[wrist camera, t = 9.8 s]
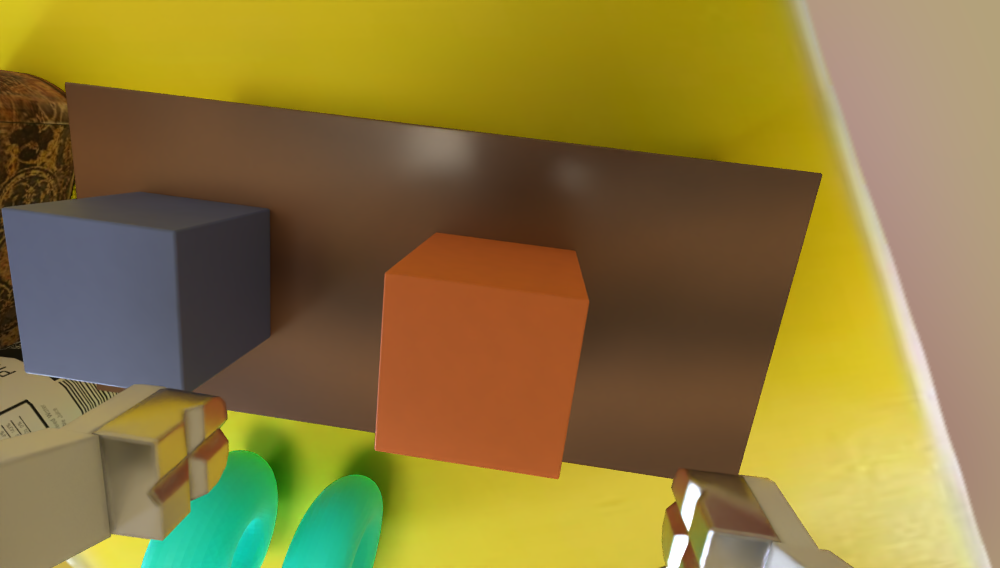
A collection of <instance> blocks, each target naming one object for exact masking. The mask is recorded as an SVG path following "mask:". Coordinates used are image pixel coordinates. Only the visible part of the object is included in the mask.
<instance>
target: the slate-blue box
mask: <svg viewBox="0 0 1000 568" xmlns="http://www.w3.org/2000/svg"><path fill="white" fill-rule="evenodd" d="M2 217H3V224H4V231H5V238H6V245H7V252H8V259H9V266H10V272H11V279H12V286H13V293H14V300H15V307H16V314H17V321H18V328H19V335H20V341H21V348H22V355H23V362H24V369H25V372H26V373H29V374H36V375H42V376H49V377H55V378H62V379H68V380H75V381H81V382H88V383H94V384H101V385H107V386H114V387H120V388H129V387H130V386H132V385H134V384H147V385H155V386H162V387H166V388H173V389H179V390H184V391H190V392H192V391H193V390H195V389H196V388H197V387H199V386H200V385H202V384H203V383H205V382H206V381H208V380H209V379H210V378H212V377H213V376H215V375H216V374H218V373H219V372H221V371H222V370H223V369H225V368H226V367H228V366H229V365H231V364H232V363H233V362H235V361H236V360H238V359H239V358H241V357H242V356H244V355H245V354H246V353H248V352H249V351H251V350H252V349H254V348H255V347H257V346H258V345H259V344H261V343H262V342H264V341H265V340H267V339H268V338H269V337H270V210H269V209H267V208H260V207H252V206H244V205H237V204H229V203H222V202H214V201H207V200H199V199H191V198H184V197H176V196H169V195H161V194H154V193H146V192H132V193H123V194H115V195H106V196H97V197H88V198H80V199H71V200H62V201H54V202H45V203H36V204H28V205H19V206H10V207H4V208H2Z"/></svg>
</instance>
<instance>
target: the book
mask: <svg viewBox="0 0 1000 568" xmlns="http://www.w3.org/2000/svg"><path fill="white" fill-rule="evenodd" d="M74 179H75V175H74V165H73V156H72V146H71V137H70V127H69V118H68V108H67V99H66V93H65V92H64V91H62V90H61V89H60V88H58V87H57V86H55V85H53V84H52V83H50V82H48V81H46V80H44V79H42V78H39V77H37V76H34V75H30V74H26V73H19V72H12V71H4V70H0V349H1V348H4V347H7V346H9V345H12V344H15V343H17V342H20V335H19V328H18V321H17V314H16V307H15V300H14V293H13V286H12V279H11V272H10V266H9V259H8V252H7V245H6V238H5V231H4V224H3V217H2V208H4V207H10V206H19V205H28V204H36V203H45V202H54V201H62V200H70V197H71V192H72V188H73V183H74Z"/></svg>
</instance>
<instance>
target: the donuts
mask: <svg viewBox="0 0 1000 568" xmlns="http://www.w3.org/2000/svg"><path fill="white" fill-rule="evenodd" d="M190 506H191V512H190V513H189V514H188V515H187V516H186V517H185V518H184V519H183V520H182V521H181V522H180V523H179V524H178V525H177V526H176V527H175V528H174V530H173V531H172V532H171V533H170V534H169V535H168V536H167V537H166V538H165V539H164V540H163V541H160V540H153V539H151V540H150V543H149V545H148V548H147V550H146V553H145V556H144V559H143V562H142V566H141V568H261V565H262V563H263V561H264V558H265V556H266V553H267V551H268V548H269V545H270V542H271V538H272V535H273V531H274V527H275V523H276V517H277V510H278V488H277V482H276V478H275V475H274V473H273V470H272V468H271V467H270V465H269V464H268V463H267V461H266V460H264V459H263V458H262V457H261V456H259V455H258V454H255V453H253V452H250V451H244V450H239V451H231V452H229V454H228V459H227V464H226V467H225V469H224V471H223V474H222V476H221V478H220V480H219V482H218V483H217V484H216V485H215V486H214V487H213V488H212V490H211V491H210V492H209V493H208V494H206V495H204V496H201V497H199V498H197V499H195V500H192V501H190ZM382 517H383V500H382V495H381V492H380V490H379V488H378V486H377V484H376V483H375V482H374V481H373V480H372V479H370V478H368V477H366V476H364V475H359V474H353V475H348V476H344V477H342V478H340V479H338V480H336V481H334V482H333V483H332V484H330V485H329V486H328V487H327V488H325V489H324V490H323V491H322V492H321V494H320V495H319V496H318V497H317V498H316V499H315V501H314V502H313V503H312V505H311V506H310V507H309V509H308V510H307V512H306V514H305V515H304V517H303V519H302V521H301V523H300V525H299V527H298V528H297V530H296V533H295V535H294V537H293V539H292V542H291V544H290V546H289V549H288V551H287V554H286V557H285V560H284V563H283V566H282V568H373V565H374V561H375V556H376V553H377V548H378V543H379V538H380V533H381V526H382Z"/></svg>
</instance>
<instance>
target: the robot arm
mask: <svg viewBox="0 0 1000 568" xmlns="http://www.w3.org/2000/svg"><path fill="white" fill-rule="evenodd" d="M226 420H227V407H226V402H225V401H224V400H223V399H222V398H221V397H219V396H213V395H207V394H202V393H196V392H190V391H184V390H179V389H173V388H166V387H162V386H155V385H147V384H134V385H132V386H130V387H129V388H127V389H125V390H124V391H122V392H120V393H119V394H117V395H115V396H114V397H112V398H110V399H108V400H107V401H105V402H103V403H102V404H100V405H98V406H97V407H95V408H93V409H91V410H90V411H88V412H86V413H85V414H83V415H81V416H80V417H78V418H76V419H75V420H73V421H71V422H69V423H68V424H66V425H64V426H63V427H61V428H59V429H57V428H46V429H42V430H38V431H34V432H30V433H26V434H22V435H19V436H15V437H11V438H7V439H3V440H0V568H52V567H54V566H56V565H58V564H60V563H62V562H63V561H66V560H67V559H69V558H71V557H73V556H75V555H77V554H79V553H81V552H83V551H84V550H86V549H88V548H90V547H92V546H94V545H96V544H98V543H100V542H101V541H103V540H105V539H107V538H109V537H110V536H111V534H116V535H123V536H131V537H138V538H145V539H153V540H160V541H163V540H164V539H165V538H166V537H167V536H168V535H169V534H170V533H171V532H172V531H173V530H174V528H175V527H176V526H177V525H178V524H179V523H180V522H181V521H182V520H183V519H184V518H185V517H186V516H187V515H188V514H189V513H190V512H191V506H190V501H192V500H195V499H197V498H199V497H201V496H204V495H206V494H208V493H209V492H210V491H211V490H212V488H213V487H214V486H215V485H216V484H217V483H218V482H219V480H220V478H221V476H222V474H223V471H224V469H225V467H226V464H227V459H228V454H229V445H228V440H227V438H226V437H225V435H224V434H223V432H222V431H221V430H220V428H221V426H222V425H223V424H224V423H225V422H226ZM671 488H672V491H673V494H674V497H675V500H676V502H674V503H673V504H672V505H671V506H669V507H668V508H667V509H666V512H665V516H664V521H663V526H662V549H663V556H664V560H665V564H666V568H853V567H852V566H850V565H849V564H848V563H846V562H845V561H843V560H842V559H840V558H839V557H838V556H836V555H835V554H833V553H832V552H830V551H828V550H822V549H819V548H818V547H817V545H816V544H815V542H814V541H813V539H812V538H811V536H810V535H809V533H808V532H807V530H806V529H805V527H804V526H803V524H802V523H801V521H800V520H799V518H798V517H797V515H796V514H795V512H794V511H793V509H792V508H791V506H790V505H789V503H788V502H787V500H786V499H785V497H784V496H783V494H782V493H781V491H780V490H779V488H778V487H777V485H776V484H775V482H773V481H772V480H770V479H769V478H762V477H754V476H745V475H734V474H726V473H719V472H711V471H703V470H695V469H688V468H680V467H679V468H678V470H677V472H676V473H675V476H674V479H673V483H672V487H671Z"/></svg>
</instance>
